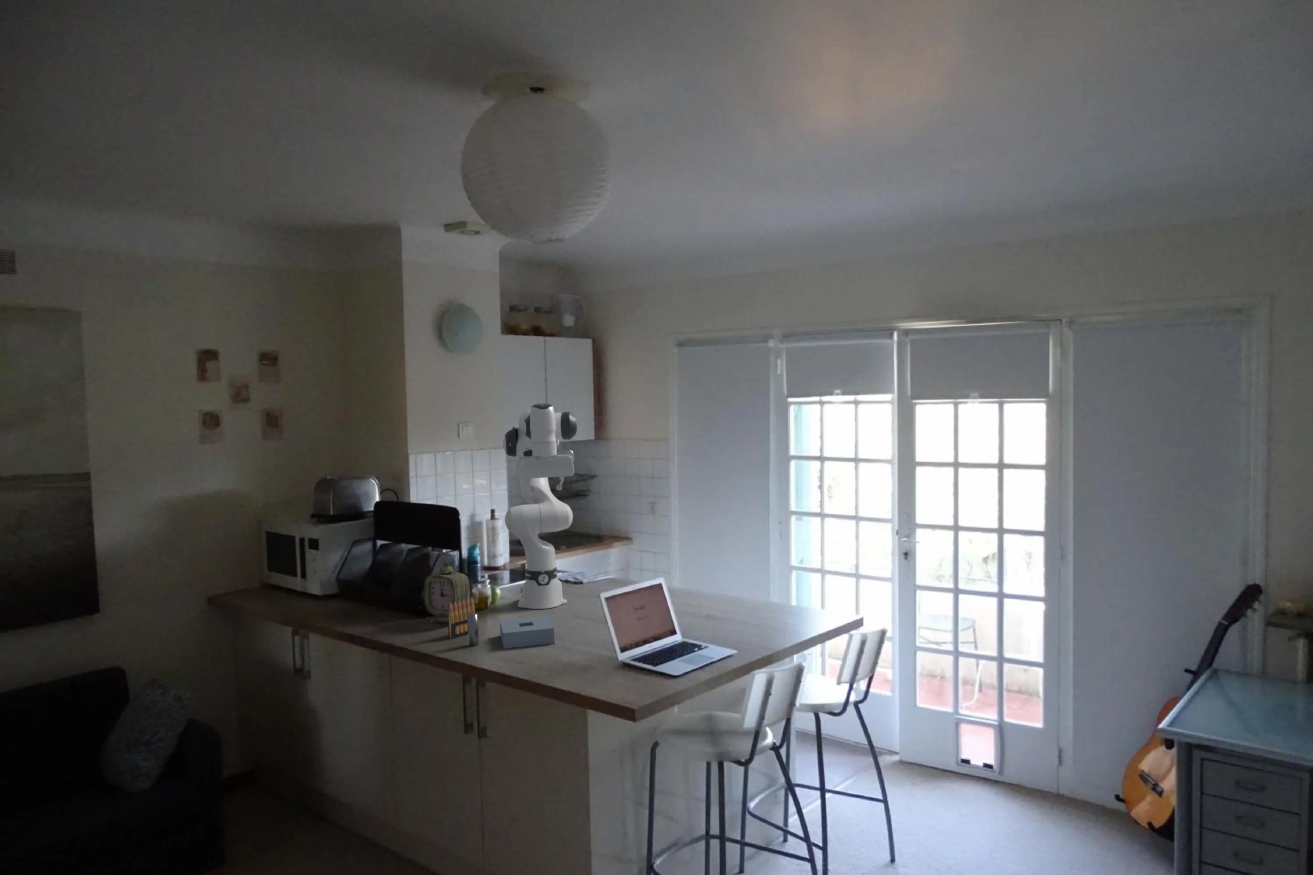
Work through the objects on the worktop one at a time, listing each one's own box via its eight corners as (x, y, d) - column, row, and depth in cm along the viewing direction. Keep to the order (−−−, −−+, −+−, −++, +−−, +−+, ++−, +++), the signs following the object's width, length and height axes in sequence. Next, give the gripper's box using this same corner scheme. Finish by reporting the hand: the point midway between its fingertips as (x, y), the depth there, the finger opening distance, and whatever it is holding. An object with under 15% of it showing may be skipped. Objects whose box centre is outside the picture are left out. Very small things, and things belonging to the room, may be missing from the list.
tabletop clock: (425, 623, 304) (422, 554, 303) (442, 617, 312) (439, 549, 311) (456, 627, 297) (453, 556, 296) (473, 621, 305) (470, 552, 304)
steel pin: (468, 644, 276) (467, 613, 275) (478, 643, 276) (477, 612, 276) (469, 646, 272) (467, 615, 272) (479, 645, 273) (477, 615, 273)
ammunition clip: (451, 639, 282) (450, 603, 282) (448, 638, 284) (446, 602, 283) (477, 631, 291) (475, 596, 290) (473, 630, 292) (472, 596, 291)
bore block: (500, 635, 284) (499, 620, 284) (547, 630, 288) (547, 616, 288) (504, 648, 269) (503, 633, 269) (554, 643, 273) (553, 627, 273)
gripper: (572, 448, 299) (573, 488, 299) (513, 451, 293) (515, 491, 294) (575, 449, 293) (576, 489, 293) (515, 452, 287) (517, 493, 288)
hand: (545, 490), depth 293 cm, fingers open, 8 cm apart
